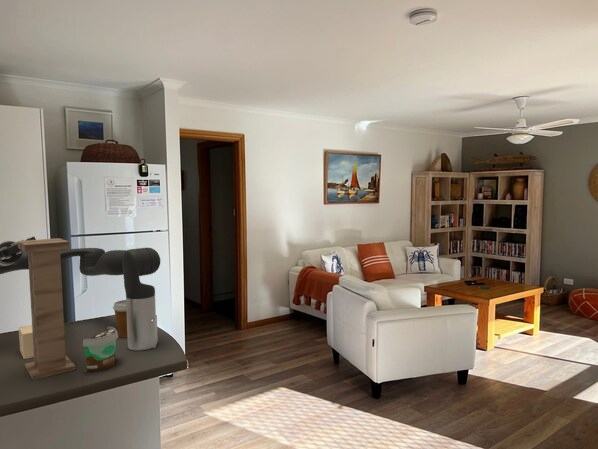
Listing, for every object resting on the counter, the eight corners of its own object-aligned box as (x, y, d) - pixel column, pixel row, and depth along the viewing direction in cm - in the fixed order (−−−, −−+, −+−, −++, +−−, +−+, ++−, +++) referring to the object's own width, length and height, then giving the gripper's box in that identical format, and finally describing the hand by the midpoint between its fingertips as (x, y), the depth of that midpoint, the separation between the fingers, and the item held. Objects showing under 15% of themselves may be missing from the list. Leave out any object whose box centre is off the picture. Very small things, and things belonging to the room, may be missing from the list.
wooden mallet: (56, 352, 144) (54, 328, 144) (23, 359, 139) (22, 333, 138) (44, 334, 161) (42, 313, 161) (15, 340, 156) (13, 317, 155)
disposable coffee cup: (116, 341, 154) (114, 307, 153) (112, 333, 163) (111, 301, 162) (144, 336, 159) (143, 303, 158) (139, 329, 167) (138, 298, 166)
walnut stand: (75, 369, 130) (69, 241, 127) (33, 380, 123) (25, 245, 120) (65, 357, 140) (59, 238, 136) (25, 367, 132) (17, 241, 129)
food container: (102, 374, 127) (101, 340, 126) (83, 373, 128) (82, 339, 127) (127, 358, 139) (126, 327, 138) (110, 356, 140) (108, 326, 139)
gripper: (-22, 253, 145) (-14, 245, 134) (23, 235, 155) (34, 226, 143) (-10, 273, 147) (-2, 267, 135) (34, 254, 156) (45, 247, 145)
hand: (17, 246), depth 139 cm, fingers open, 8 cm apart
